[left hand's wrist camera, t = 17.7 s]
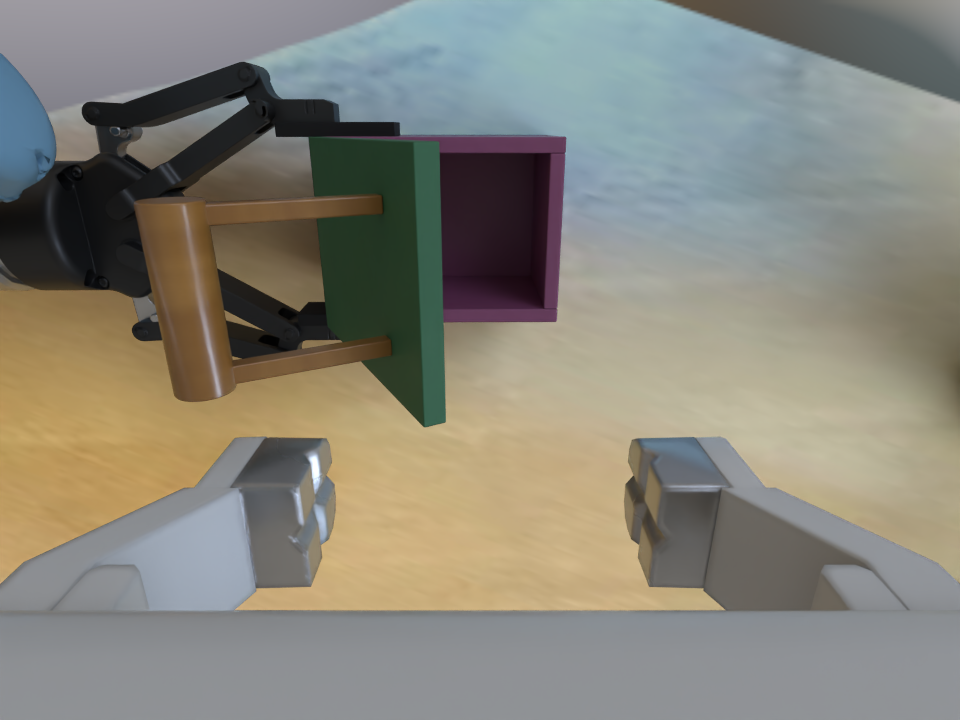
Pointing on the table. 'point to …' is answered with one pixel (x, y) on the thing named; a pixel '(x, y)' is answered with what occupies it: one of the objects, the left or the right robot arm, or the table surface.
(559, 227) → the chest
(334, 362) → the lid
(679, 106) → the table surface
